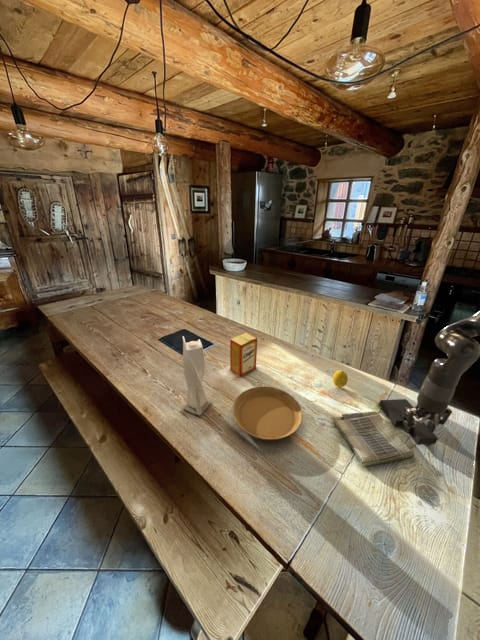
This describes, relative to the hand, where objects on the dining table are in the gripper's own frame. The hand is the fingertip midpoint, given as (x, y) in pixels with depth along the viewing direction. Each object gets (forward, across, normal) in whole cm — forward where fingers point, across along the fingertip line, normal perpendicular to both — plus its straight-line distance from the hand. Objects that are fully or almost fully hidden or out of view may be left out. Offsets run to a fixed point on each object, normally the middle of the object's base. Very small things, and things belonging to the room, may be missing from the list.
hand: (418, 432), depth 86 cm
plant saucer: (+2, -48, +11) cm, 49 cm away
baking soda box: (+2, -54, +39) cm, 67 cm away
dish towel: (+2, -16, 0) cm, 16 cm away
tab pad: (+1, 0, +1) cm, 1 cm away
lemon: (+2, -16, +25) cm, 30 cm away
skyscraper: (+2, -73, +18) cm, 75 cm away
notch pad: (+2, 0, +9) cm, 9 cm away
